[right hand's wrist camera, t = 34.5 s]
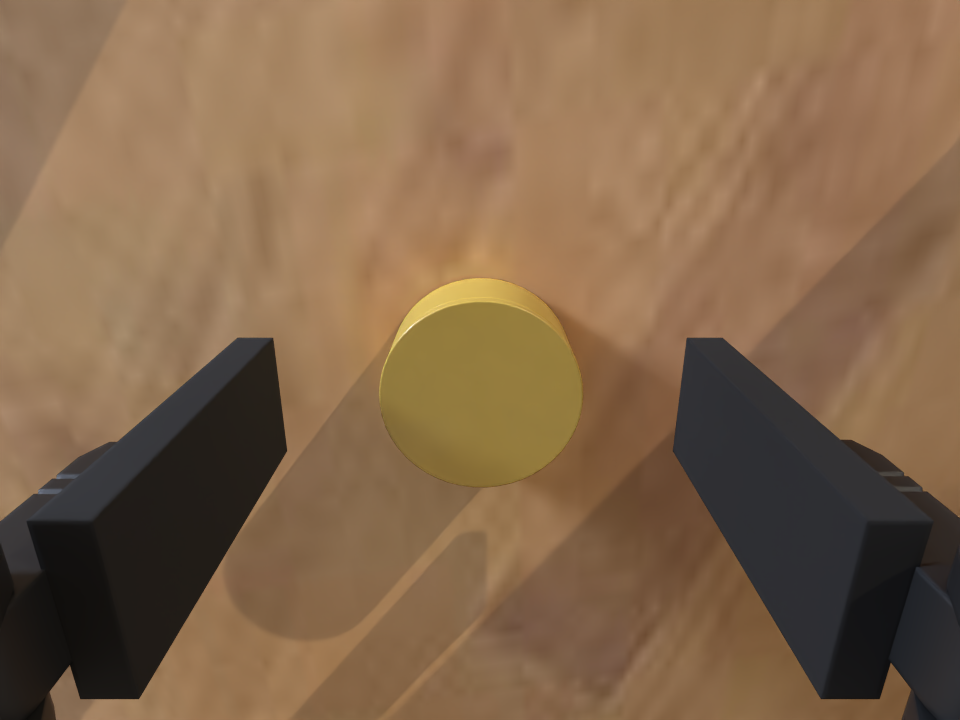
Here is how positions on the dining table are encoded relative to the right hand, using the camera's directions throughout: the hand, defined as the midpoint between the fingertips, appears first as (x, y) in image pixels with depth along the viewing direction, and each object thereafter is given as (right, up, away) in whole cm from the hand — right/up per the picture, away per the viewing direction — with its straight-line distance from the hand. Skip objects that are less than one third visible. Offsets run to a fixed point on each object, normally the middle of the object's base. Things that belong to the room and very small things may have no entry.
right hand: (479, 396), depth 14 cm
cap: (0, 0, 0) cm, 0 cm away
